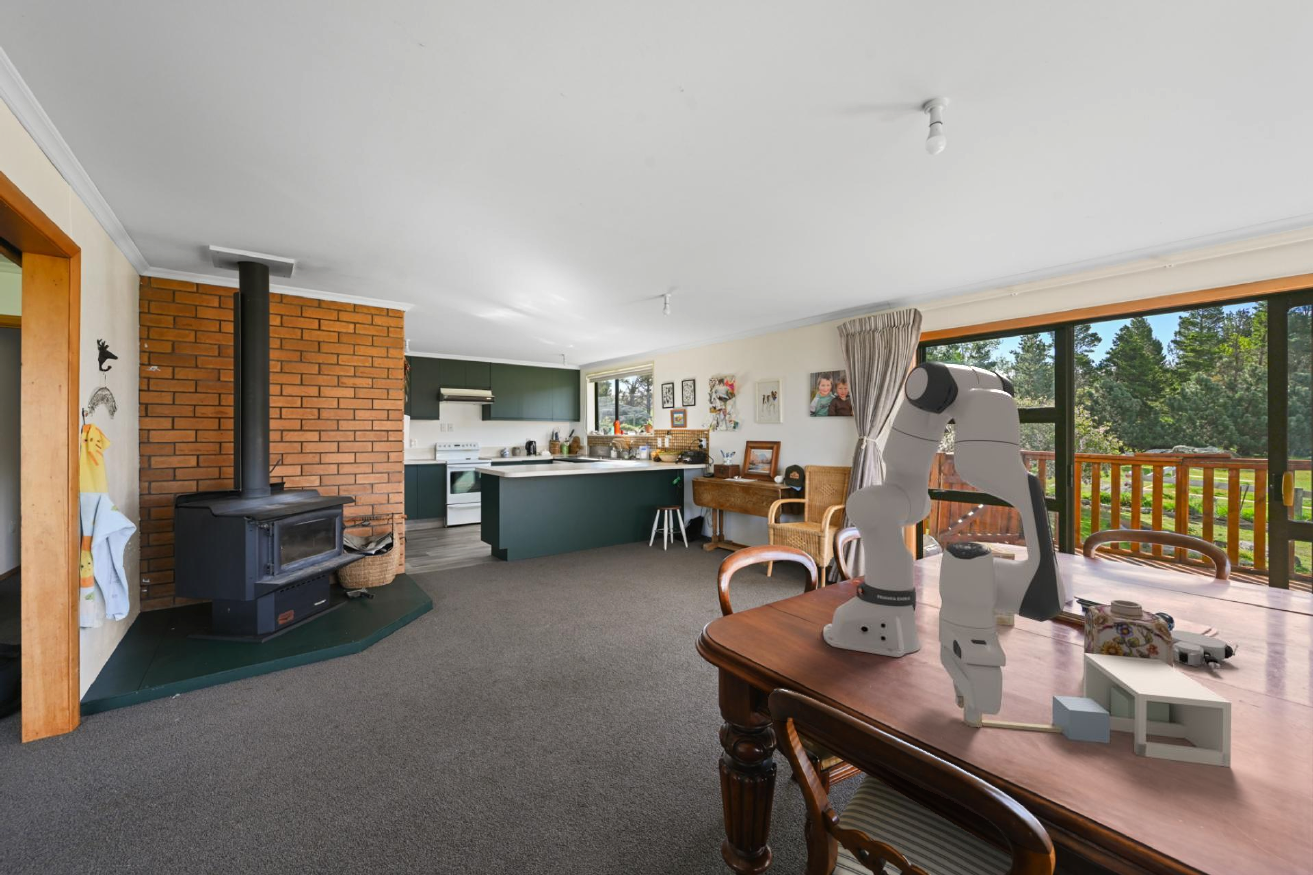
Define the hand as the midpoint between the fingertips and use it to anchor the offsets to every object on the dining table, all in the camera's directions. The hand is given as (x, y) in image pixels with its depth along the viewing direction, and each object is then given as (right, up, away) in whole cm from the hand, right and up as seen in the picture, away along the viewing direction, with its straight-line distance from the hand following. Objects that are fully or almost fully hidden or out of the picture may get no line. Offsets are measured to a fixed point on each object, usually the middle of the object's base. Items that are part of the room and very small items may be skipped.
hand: (966, 713), depth 94 cm
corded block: (+10, -2, -2) cm, 10 cm away
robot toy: (+68, -2, +27) cm, 73 cm away
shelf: (+30, -2, -3) cm, 30 cm away
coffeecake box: (+39, -2, +55) cm, 67 cm away
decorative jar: (+38, -2, +11) cm, 40 cm away
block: (+31, -2, 0) cm, 31 cm away
